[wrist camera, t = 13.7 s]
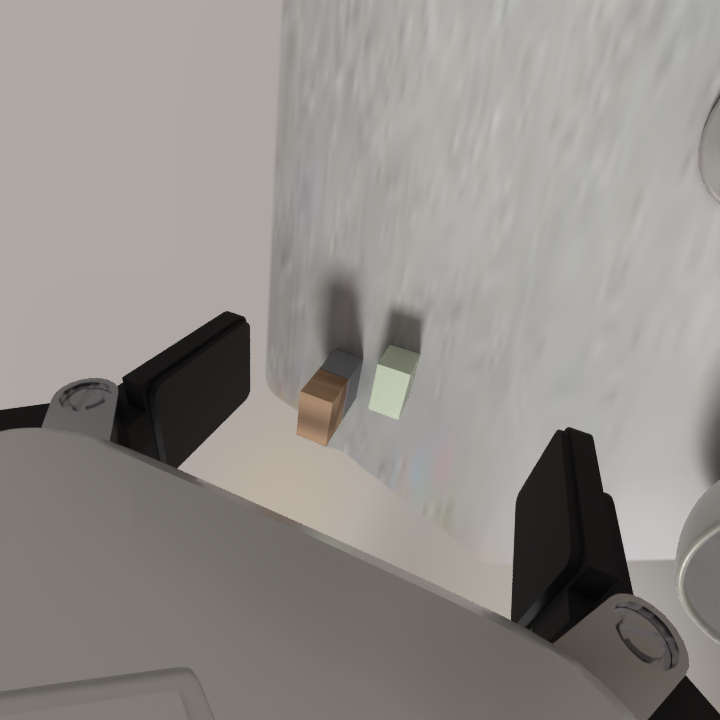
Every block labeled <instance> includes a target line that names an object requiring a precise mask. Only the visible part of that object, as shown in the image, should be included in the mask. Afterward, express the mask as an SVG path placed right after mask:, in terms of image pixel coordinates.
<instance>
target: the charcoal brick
mask: <svg viewBox="0 0 720 720" xmlns="http://www.w3.org/2000/svg"><path fill="white" fill-rule="evenodd" d="M362 363H363V358H361V357H358V356H355V355H352V354H349V353H346V352H343V351H340V350H337V349H335V350H334V352H333V353H332V354H331V355H330V356H329V357H328V359H327V360H326V361H325V362H324V363H323V365H322V366H321V367H320V369H321V370H323V371H326V372H329V373H332V374H335V375H337V376H340V377H343V378H346V379H349V381H348V387H347V393H346V398H345V404H344V410H343V415H342V420H343V418H344V417H345V415H346V413H347V412H348V410H349V408H350V407H351V405H352V404H353V402H354V400H355V399H356V394H357V389H358V384H359V379H360V373H361V368H362Z"/></svg>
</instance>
